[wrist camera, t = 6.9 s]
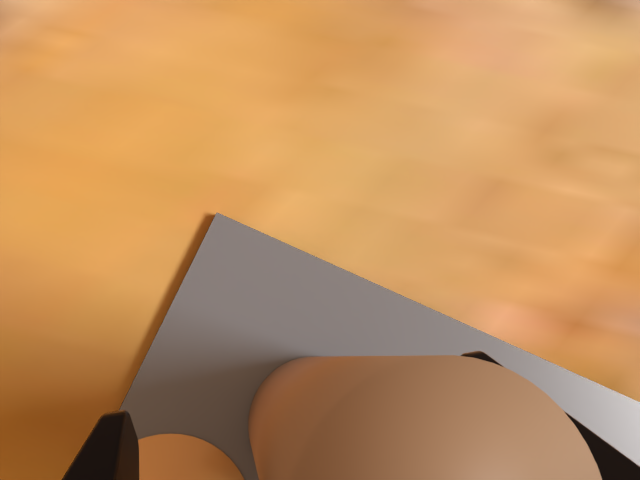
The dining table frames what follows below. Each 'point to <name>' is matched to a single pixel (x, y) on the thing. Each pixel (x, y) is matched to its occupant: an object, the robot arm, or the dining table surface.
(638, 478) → the robot arm
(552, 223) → the dining table surface
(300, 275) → the card
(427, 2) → the dining table surface
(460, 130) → the dining table surface
